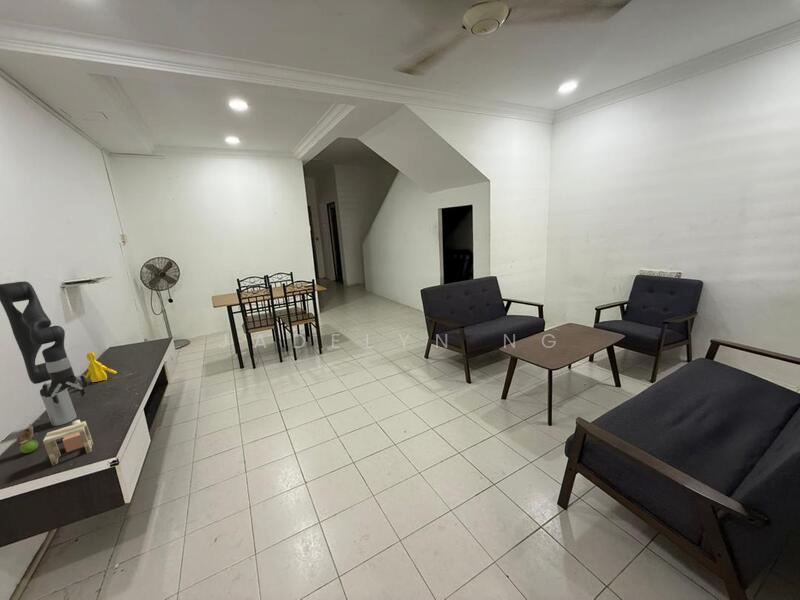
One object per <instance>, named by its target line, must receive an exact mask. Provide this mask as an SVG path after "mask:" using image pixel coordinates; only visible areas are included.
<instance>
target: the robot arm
mask: <svg viewBox="0 0 800 600" xmlns="http://www.w3.org/2000/svg"><path fill="white" fill-rule="evenodd" d="M24 301H28V303H27V305H26V306H25V308H24V310H23V312H22V311H20V310H19V309H17V307H16V306H15V305H14V303H18V302H24ZM0 304H1V305H2V307H3V309H4V310H3V311H4V312H5V313H6V316H7V319H8V322H9V324H10V327H11V330H12V333H13V336H14V339H15V341H16V344H17V346H18V348H19V350H20V353H21V355H22V359H23V362H24V365H25V369H26V373H27V376H28V378H29V381H30V382H31V383H32V384H34V385H38V384H41V383H44V384H42V387H41V389H40V390H39V394H40V397H41V400H42V403H43V405H44V408H45V410H46V413H47V416H48V417H49V421H50V423H51V426H53V427H57V426H62V425H64V424H65V425H66V424H67V423H70V422H73V421H75V419H77V417H78V416H77V414H76V410H75V408H74V405H73V402H72V399H71V396H70V393H69V390H68V389H70V388H73V387H74V388H76V389H79V393H80V396H81V397H85V395H86V393H87V392H86V389H85V388H87V387H88V386H89V382H88V380H87V379H86V377H85V376H86V374H82V373H81V375H77V376H76V375H75V373H74V370H73V367H72V365H71V361H70V359H69V358H68V355H67V352H66V349H65V338H66V336H65V335H66V334H65V333H66V332H65V330H64V329H65V328H63V327H62V326H60V325H52V321H51V319H50V318H49V316H48V315H47V314H46V313H45V311H44V308H43V307H42V303H41V301H40V299H39V296H38V294H37V293H36V290H35V288H34V287H33V285H32V284H31V283H30V282H28V281H16V282H7V283H6V282H5V283H0ZM51 325H52V326H51ZM50 343H54V344H52V345H51V346H49V347H47V348H44V349H43V350H42V351H41V354H42V357H43V360H44V362H43V363H40V364H39V363H38V364H36V358H37V356H38V353H39V351H40V349H41V348H42V345H47V344H50ZM77 380H79V381H81V383H82V384H80V383H79V382H77ZM48 381H51V382H49V383H45V382H48Z"/></svg>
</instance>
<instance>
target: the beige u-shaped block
mask: <svg viewBox="0 0 800 600" xmlns="http://www.w3.org/2000/svg"><path fill="white" fill-rule="evenodd" d="M78 432H79V433H80V435H81V438H82V441H83V444H84V446H83V447H84V449H85V452H86V454H89V453H91V452H92V450H93V449H92V447H93V445H94V442H93V437H92V435H91V432H90V430H89V427H88V424H87V421H86V420H83V421H80V423H77V424H74V425H72V424H70V425H68V426H65V427H61V428H58V429H55V430H51V431H48V432H47V433H46V434H45V436H44V438H43V440H42V442H43V443H42V444H43V445H44V448H45V450H46V452H47V456H48V458H49V460H50V464H51V465H52V466H55V465H57V464H58V462H59V458H60V457H61V455H62V454H61V452H60V448H59V447H58V444H57V441H56V440H59V439H62V438H64V437H66V436H69V435H72V434H75V433H78Z"/></svg>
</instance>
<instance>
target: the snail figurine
mask: <svg viewBox="0 0 800 600" xmlns="http://www.w3.org/2000/svg"><path fill="white" fill-rule="evenodd" d="M28 426H29V427H28V431H27V430H25V431H22V432H20V433H19V434H18V436H17V441H18V442H19V444H20V446H19V451H20V452H21V453H23V454H29V453H33V452H34V451H36V450H37V448H38V447H39V443H38V441H37V440H35V439H32V438H33V437H34V427H33V423H29V424H28Z"/></svg>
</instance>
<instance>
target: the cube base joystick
mask: <svg viewBox="0 0 800 600" xmlns="http://www.w3.org/2000/svg"><path fill="white" fill-rule="evenodd" d="M80 422H81V420H80V419H76V420H75V419H74V420H72V421H71V425H74V424H77V423H80ZM62 443H63V446H64V449H65V452H66V453H68V452H69V453H70V452H72V451H74V450H77V449H81V448H83V447H85V446H84V444H83V441H82V438H81V435H80V433H79V432H78V433H75V434H72V435H69V436H66V437H63V439H62Z"/></svg>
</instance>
